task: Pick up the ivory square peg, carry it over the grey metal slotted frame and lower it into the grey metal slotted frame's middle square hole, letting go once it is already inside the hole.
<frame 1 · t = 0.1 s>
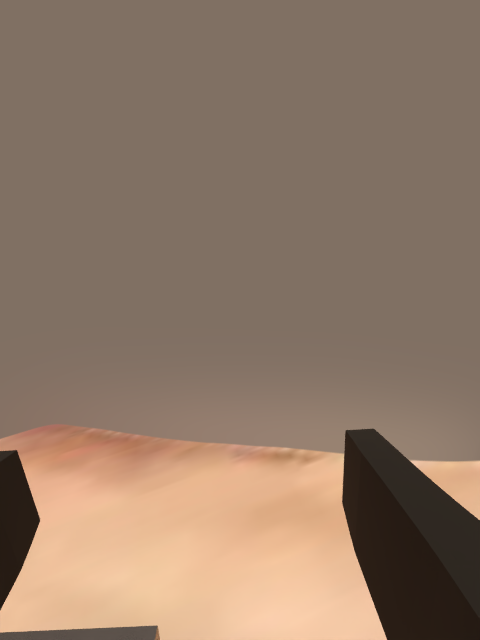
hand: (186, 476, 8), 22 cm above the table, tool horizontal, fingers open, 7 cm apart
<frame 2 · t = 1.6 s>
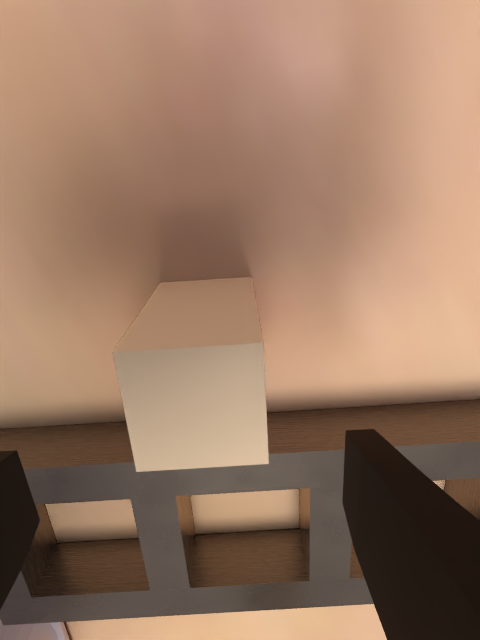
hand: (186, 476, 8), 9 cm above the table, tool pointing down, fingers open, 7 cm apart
grey metal slotted frame: (244, 491, 21), on the table
peg: (209, 322, 17), on the table
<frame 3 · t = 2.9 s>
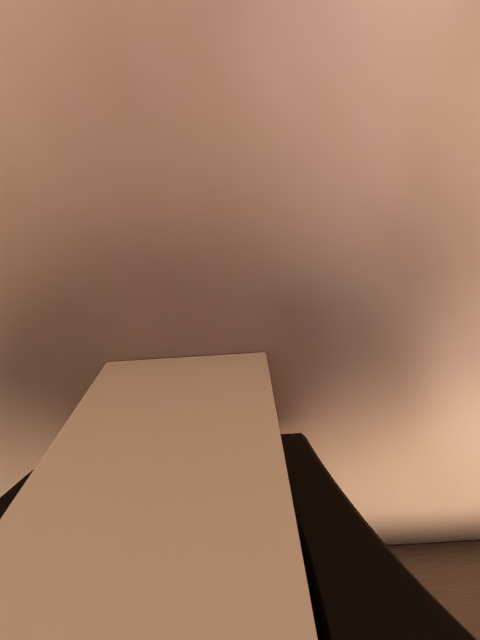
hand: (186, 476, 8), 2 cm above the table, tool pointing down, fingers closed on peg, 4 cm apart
peg: (194, 423, 10), on the table, touching gripper
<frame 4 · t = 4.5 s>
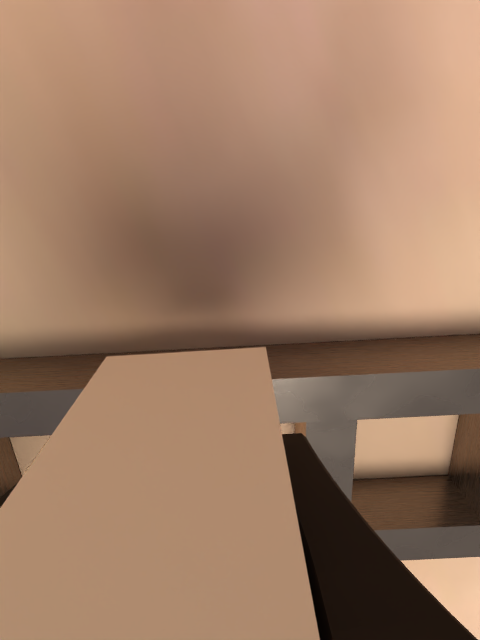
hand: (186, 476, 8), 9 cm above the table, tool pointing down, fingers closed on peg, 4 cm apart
grey metal slotted frame: (234, 438, 19), on the table
peg: (194, 418, 10), point 7 cm above the table, touching gripper
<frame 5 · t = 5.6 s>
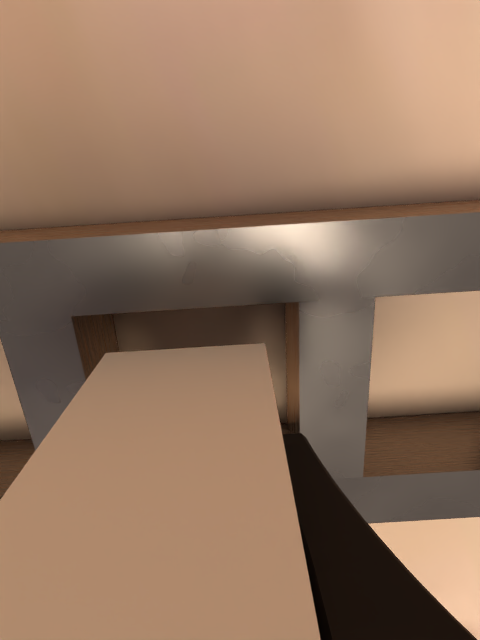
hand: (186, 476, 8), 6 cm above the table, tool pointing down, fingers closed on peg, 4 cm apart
grey metal slotted frame: (203, 359, 14), on the table
peg: (193, 415, 10), point 4 cm above the table, touching gripper
when the fingers open (4 cm above the table, at t = 6.4 s): peg drops 2 cm, resting in grey metal slotted frame.
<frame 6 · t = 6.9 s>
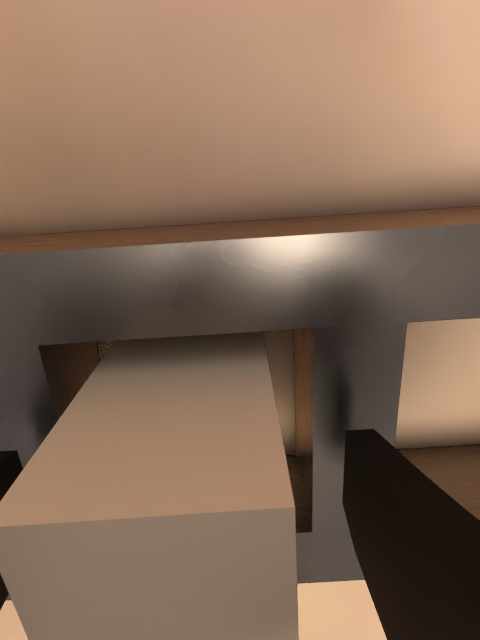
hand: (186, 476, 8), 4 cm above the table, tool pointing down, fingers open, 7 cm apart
grey metal slotted frame: (200, 385, 12), on the table
peg: (200, 379, 12), resting in grey metal slotted frame
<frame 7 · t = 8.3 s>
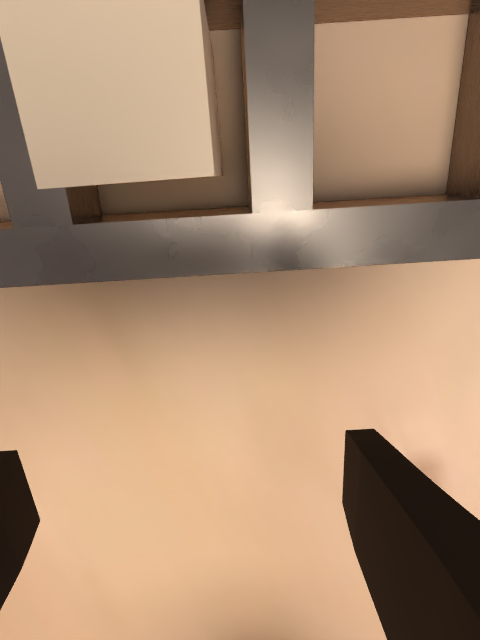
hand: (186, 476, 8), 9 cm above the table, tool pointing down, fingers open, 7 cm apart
grey metal slotted frame: (165, 129, 14), on the table
peg: (165, 122, 14), resting in grey metal slotted frame
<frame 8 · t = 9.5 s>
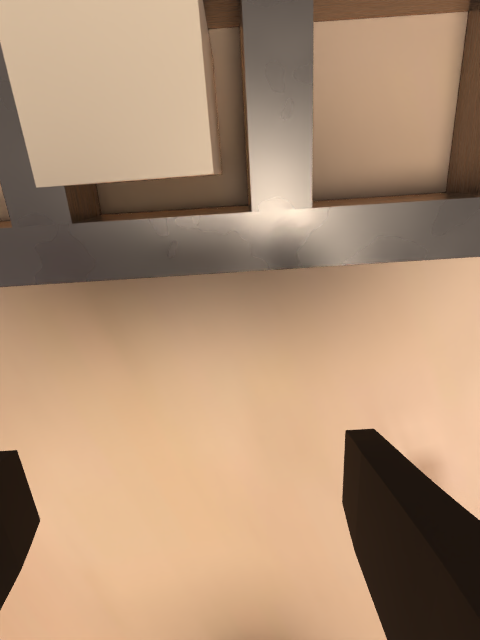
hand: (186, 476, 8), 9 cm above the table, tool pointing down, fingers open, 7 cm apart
grey metal slotted frame: (165, 127, 14), on the table
peg: (164, 121, 14), resting in grey metal slotted frame
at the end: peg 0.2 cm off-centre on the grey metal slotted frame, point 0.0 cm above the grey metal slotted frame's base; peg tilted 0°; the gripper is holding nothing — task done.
